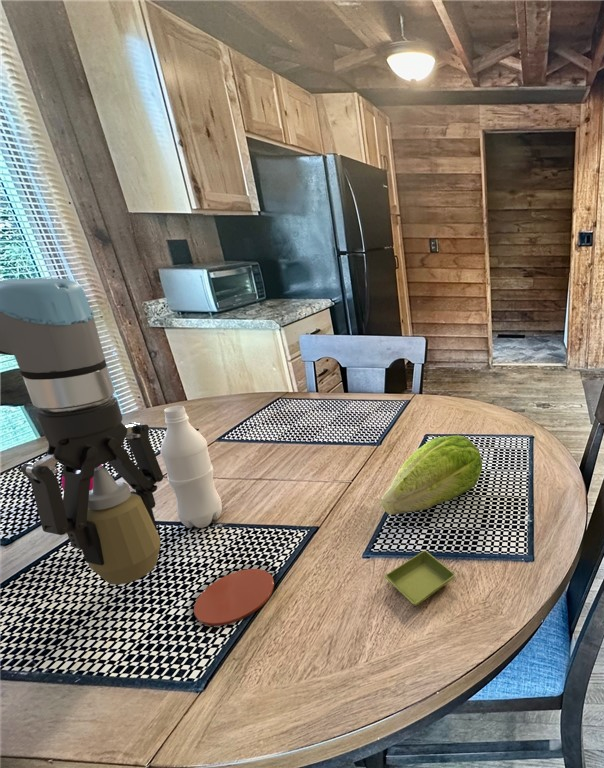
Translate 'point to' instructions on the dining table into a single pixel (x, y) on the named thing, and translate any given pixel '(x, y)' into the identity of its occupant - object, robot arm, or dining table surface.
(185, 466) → the water bottle
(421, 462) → the lettuce
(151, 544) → the squeeze bottle
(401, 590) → the green square tray
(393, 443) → the dining table surface
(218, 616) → the coaster
